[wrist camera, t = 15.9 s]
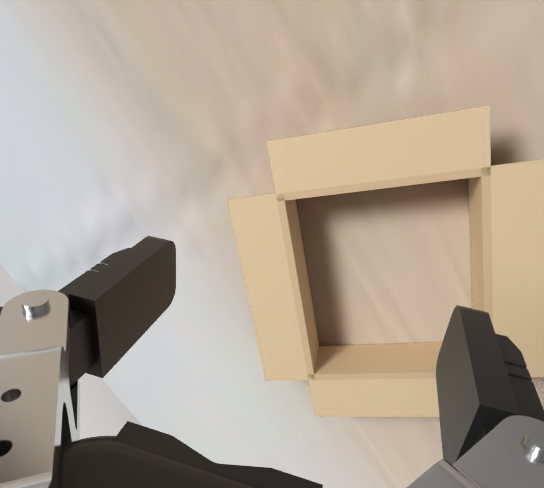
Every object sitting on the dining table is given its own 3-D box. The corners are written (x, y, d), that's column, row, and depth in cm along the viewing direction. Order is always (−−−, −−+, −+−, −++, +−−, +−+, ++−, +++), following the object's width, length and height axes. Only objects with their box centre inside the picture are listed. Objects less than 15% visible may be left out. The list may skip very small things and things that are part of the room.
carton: (233, 142, 37) (216, 149, 33) (534, 93, 31) (559, 94, 27) (281, 385, 45) (273, 415, 41) (529, 382, 39) (548, 418, 35)
